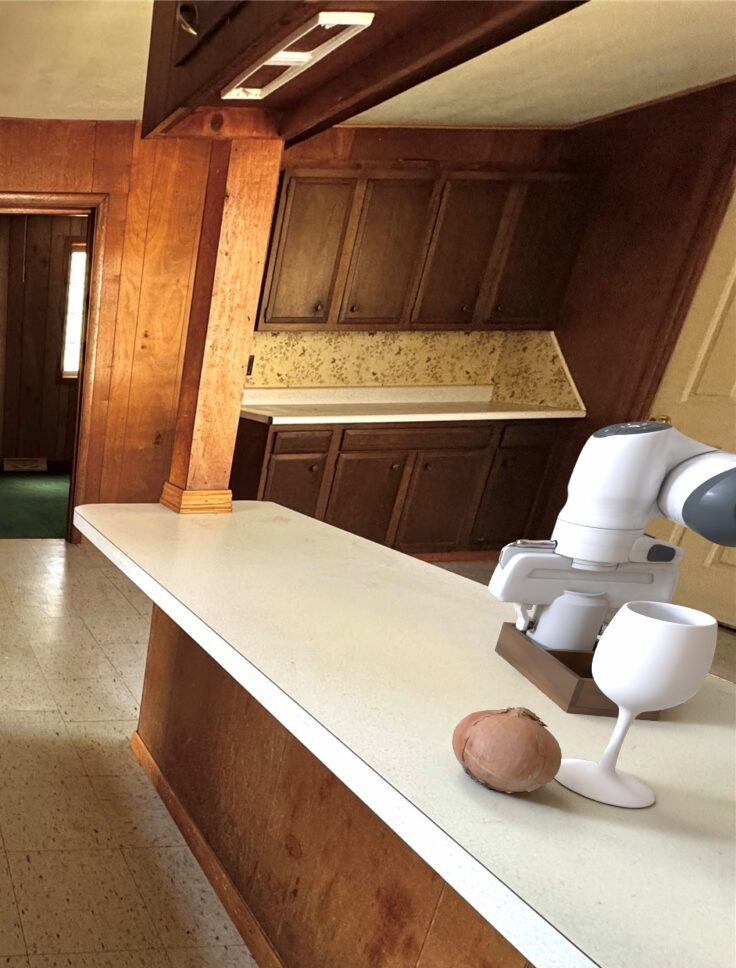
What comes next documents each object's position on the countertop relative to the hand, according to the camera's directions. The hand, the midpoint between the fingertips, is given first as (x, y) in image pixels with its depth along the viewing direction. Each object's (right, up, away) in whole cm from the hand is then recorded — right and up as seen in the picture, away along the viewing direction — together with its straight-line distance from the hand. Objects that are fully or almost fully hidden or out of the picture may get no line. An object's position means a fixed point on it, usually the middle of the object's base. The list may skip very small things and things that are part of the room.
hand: (562, 631), depth 97 cm
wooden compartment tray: (-1, -7, -2) cm, 7 cm away
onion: (-28, -16, -22) cm, 39 cm away
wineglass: (-17, -16, -23) cm, 33 cm away
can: (0, -5, +2) cm, 5 cm away
